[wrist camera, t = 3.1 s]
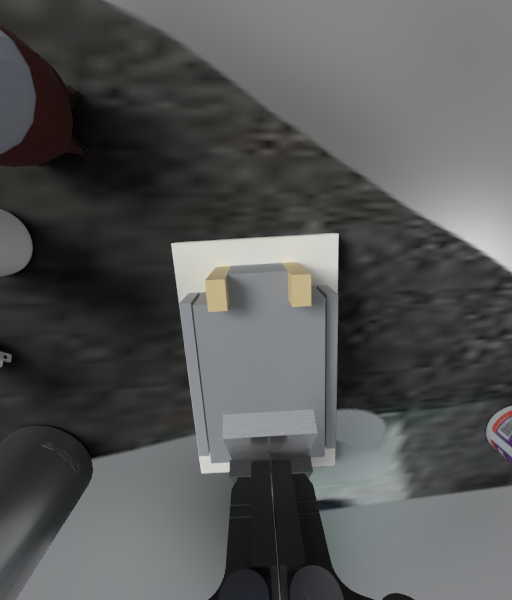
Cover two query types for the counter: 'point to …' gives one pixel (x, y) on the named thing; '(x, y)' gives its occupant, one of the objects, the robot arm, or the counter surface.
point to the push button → (9, 357)
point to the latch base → (260, 334)
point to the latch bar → (269, 440)
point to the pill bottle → (501, 432)
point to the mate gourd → (33, 107)
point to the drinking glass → (13, 244)
